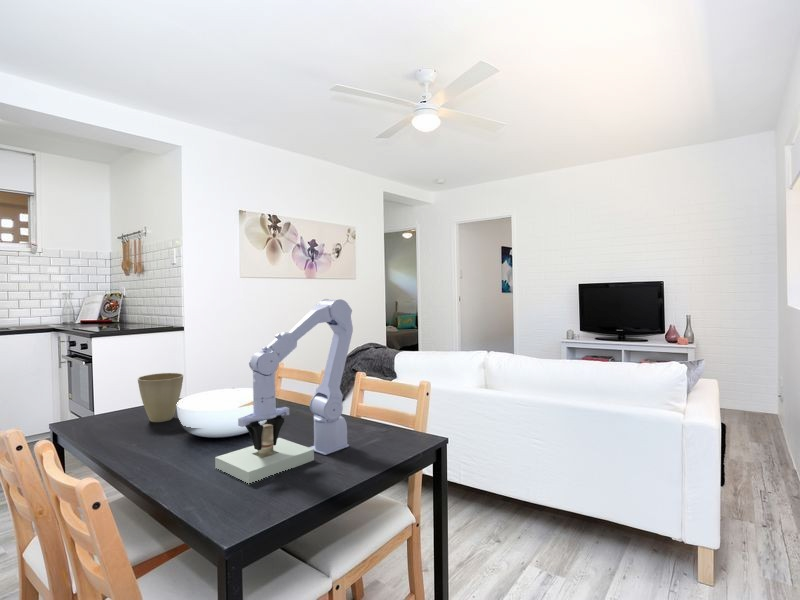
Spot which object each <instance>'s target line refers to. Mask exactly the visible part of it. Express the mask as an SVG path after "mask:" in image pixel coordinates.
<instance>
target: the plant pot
mask: <svg viewBox="0 0 800 600" xmlns="http://www.w3.org/2000/svg"><path fill="white" fill-rule="evenodd" d="M183 382H184V374H183V373H178V372H161V373H152V374H145V375H142V376H139V377H137V383H138V389H139V393H140V397H141V401H142V402H141V403H142V404H143V407H144V410H145V412H146V415H147V417H148V420H149V421H150V422H151V423H163V422H168V421H171V420H173V418H174V416H175V413H176V410H177V408H176V404H177V402H178V403H179V400H180V397H181V392H182V387H183ZM177 405H178V404H177Z"/></svg>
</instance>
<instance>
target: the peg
mask: <svg viewBox="0 0 800 600" xmlns="http://www.w3.org/2000/svg"><path fill="white" fill-rule="evenodd" d="M262 425H263V426H264V427H263V430H262V437H261V450H258V452H259V453H260V457H261V458H264V457H268V456H271V455H272V451H273V444H274V442H273V425H271V424H267V423H266V424H265V423H264V424H262Z"/></svg>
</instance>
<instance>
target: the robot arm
mask: <svg viewBox="0 0 800 600" xmlns="http://www.w3.org/2000/svg"><path fill="white" fill-rule="evenodd" d="M317 303H318V304H317ZM317 303H316V304H315V305H314V306H313V307H312V308H311V310H310V311H308V313H307V314H305V316H304V317H303V318H301V320H299V322H298V323H297V324H295V326H293V327H292V329H290V331H288V332H286V331H283V332H281V333H279V332H278V333H277V334H275V335H274V337H275V338H274V339H273V340H272V341H271V342H270V343H268V344H267V345H266V346H265V345H264V346H263V347H262V348H261V350H262V351H257V352H255V353H254V354H253V355H252V356H251V359H250V361H249V362H248V365H249V368H250V369H251V370H250V371H252V397H253V400H252V401H253V412H252V413H250V414H247V415H245V416H242V417H238V419H237V425H238V426H239V427H242V428H244V427H245V428H246V430H247V432H248V433H249V435H250V438H251V440H252V444H253V446H254V448H255V449H256V450H261V437H262V430H263V427H264V426H263V425H264V424H260V423H261V422H265V421H266V424H271V425H273V442H274V444H273V445H276V442H277V438H279V434H280V431H281V429H282V427H283V424H284V423H285V418H284V416H289V415H290V408H289V407H287V406H283V407H276V405H277V402H276V376H275V375H276V373H275V372H277V371H278V368H279V365H280V363H281V362H282V361H283V360H284V359H285V358H287V356H289V355H290V354H291V353H292V352H293V351H294V350H295V349H296V348H297V346H298V341H299V340H300V339H301V338H302V337H304V336H305V335H306V334H307V333H309V332H310V331H311V330H312V329H313V328H315V327H316V326H317V325H318V324H323V323H325V324H327V325H328V326H329V328H330V329H331V330H332V332H333V335H332V338H331V342H330V343H331V344H330V347H329V350H328V351H329V352H328V355H327V360H326V364H325V369H324V372H323V376H322V381H321V384H320V385H319V386H317V388H316V389H315V392H314V395H313V396H312V398H311V399H310V402H309V409H310V411H311V413H313V440H314V441H313V445H311V446H308V447H309V448H311V449H314V453H317V454H320V455H324V456H327V455H329V454H332V453H335V452H338V451H340V450H343V449H345V448H348V447H350V444H348V425H347V421H346V419H345V417H344V416H342V413H343V409H344V406H343V398H344V395H343V392H342V391H341V384H342V378H343V374H344V370H345V366H346V362H347V358H348V353H349V349H350V344H351V342H352V341H351V340H352V337H353V333H354V331H353V330H354V326H353V320H352V314H353V313H352V312H353V310H352V308H351V306H350V305H349V303H348V302H347V301H346V300H344V299H328V298H324V299H322V300H320V301H319V302H317Z"/></svg>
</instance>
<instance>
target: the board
mask: <svg viewBox="0 0 800 600" xmlns="http://www.w3.org/2000/svg"><path fill="white" fill-rule="evenodd" d="M309 447H310V446H305V445H302V444H299V443H297V442H293V441H290V440H288V439H284V438H282V437H278V438H277V442H276V445H273V451H272V455H271V456H268V457H264V458H261V457H260V453H259V452H258V450H256V449H255V448H254V445H251V446H246V447H244V448H241V449H237V450H234V451H231V452H228V453H225V454H221V455H218V456H215V457H214V460H215V461H214V463H215V465H214V467H215V469H216V468H217V469H216V470H218V469H219V470H218V471H220V470H222V471H223V472H222V471H221V472H222V473H224V472H226V473H228V474H230V475H232V476H234V477H236V478H238V479H240V480H242V481H244V482H243V483H245V482H246V483H245V484H247V483H248V484H247V485H250V484H249V483H251V484H253V483H252V482H254V483H256V482H255V481H257V482H259V481H262V480H264V479H263V478H265V477H267V478H269V477H268V476H270V475H273V476H275V475H274V474H276V473H278V474H280V473H279V472H281V473H283V472H282V471H284V472H285V470H286V471H288V469H289V470H291V468H292V469H294V468H297V467H300V466H302V465H304V464H308V463H310V462H313V461H315V451H314V449H311V448H309ZM226 473H225V474H226ZM228 474H227V475H228ZM230 475H229V476H230ZM276 475H277V474H276ZM232 476H231V477H232ZM234 477H233V478H234ZM270 477H271V476H270ZM236 478H235V479H236ZM238 479H237V480H238ZM261 479H262V480H261ZM265 479H266V478H265ZM240 480H239V481H240ZM258 480H259V481H258ZM242 481H241V482H242Z"/></svg>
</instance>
